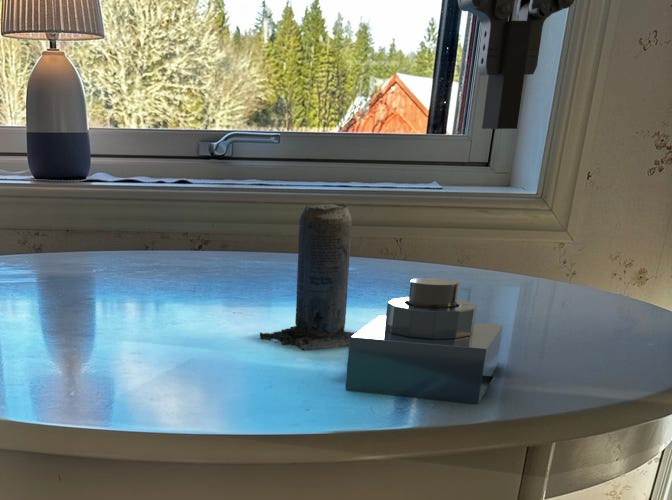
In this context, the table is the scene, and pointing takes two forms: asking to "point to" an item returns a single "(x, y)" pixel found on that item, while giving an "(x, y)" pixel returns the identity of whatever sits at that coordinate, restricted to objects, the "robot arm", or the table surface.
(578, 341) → the table surface
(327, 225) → the beverage can
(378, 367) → the grey stepped square block
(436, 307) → the cylinder
